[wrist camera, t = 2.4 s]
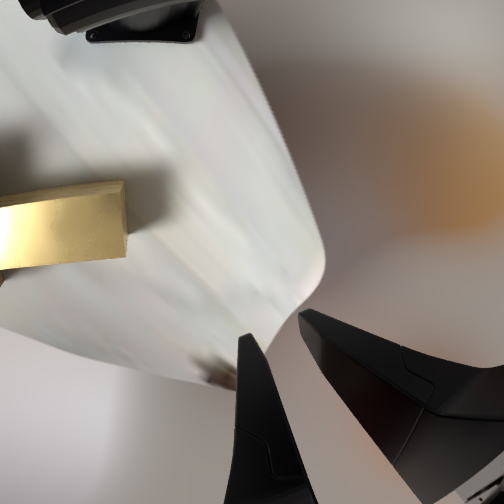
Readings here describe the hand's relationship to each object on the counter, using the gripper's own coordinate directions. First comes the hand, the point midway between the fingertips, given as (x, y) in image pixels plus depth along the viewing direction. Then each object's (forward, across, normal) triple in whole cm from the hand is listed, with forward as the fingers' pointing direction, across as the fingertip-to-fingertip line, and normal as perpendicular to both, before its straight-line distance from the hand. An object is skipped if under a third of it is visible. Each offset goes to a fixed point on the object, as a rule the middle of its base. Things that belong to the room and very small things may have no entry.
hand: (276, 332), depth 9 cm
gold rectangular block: (+10, +10, -4) cm, 15 cm away
